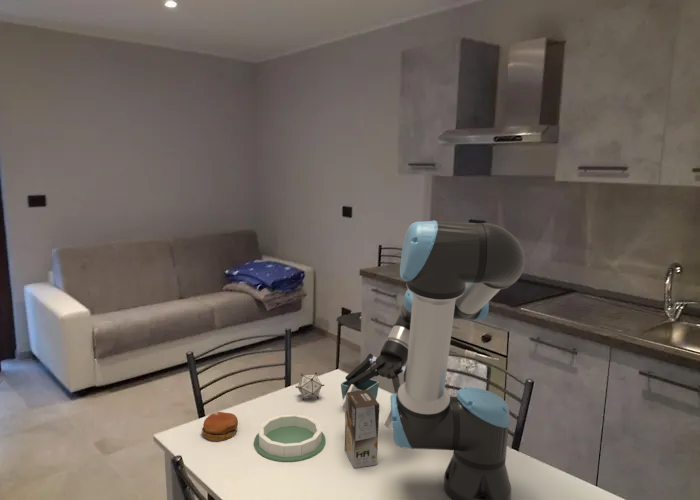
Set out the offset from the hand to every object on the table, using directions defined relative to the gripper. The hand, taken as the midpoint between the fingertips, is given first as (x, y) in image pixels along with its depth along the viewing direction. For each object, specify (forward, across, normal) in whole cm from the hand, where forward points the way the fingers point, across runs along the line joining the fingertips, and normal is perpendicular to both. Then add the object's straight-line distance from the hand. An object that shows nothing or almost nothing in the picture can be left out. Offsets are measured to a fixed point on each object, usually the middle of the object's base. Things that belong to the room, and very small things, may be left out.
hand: (363, 416), depth 129 cm
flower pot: (-6, +15, -20) cm, 26 cm away
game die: (-2, +32, -17) cm, 36 cm away
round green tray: (+13, +18, -1) cm, 22 cm away
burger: (+20, +35, +6) cm, 41 cm away
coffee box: (+8, -1, -6) cm, 10 cm away
